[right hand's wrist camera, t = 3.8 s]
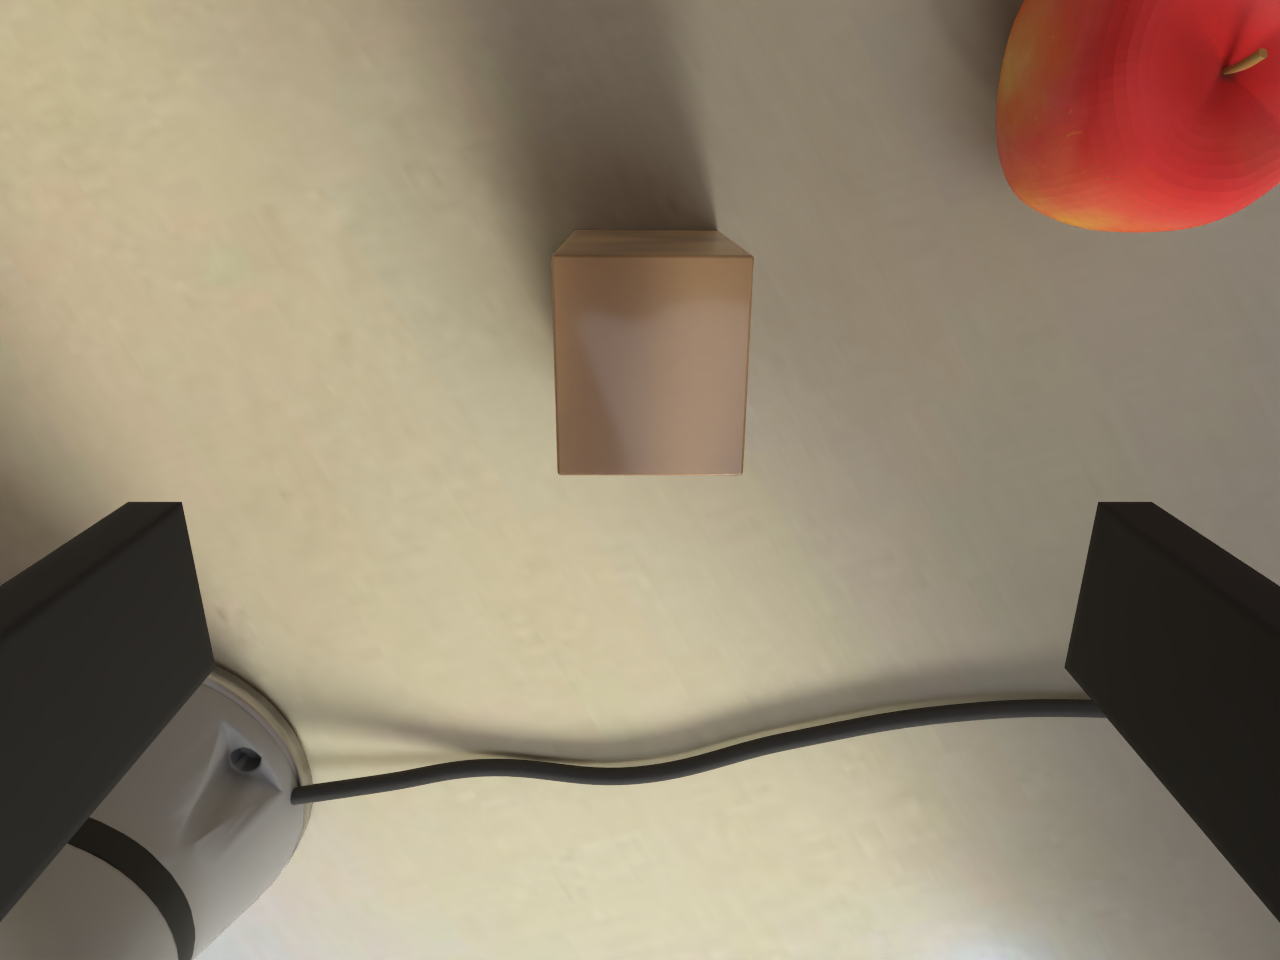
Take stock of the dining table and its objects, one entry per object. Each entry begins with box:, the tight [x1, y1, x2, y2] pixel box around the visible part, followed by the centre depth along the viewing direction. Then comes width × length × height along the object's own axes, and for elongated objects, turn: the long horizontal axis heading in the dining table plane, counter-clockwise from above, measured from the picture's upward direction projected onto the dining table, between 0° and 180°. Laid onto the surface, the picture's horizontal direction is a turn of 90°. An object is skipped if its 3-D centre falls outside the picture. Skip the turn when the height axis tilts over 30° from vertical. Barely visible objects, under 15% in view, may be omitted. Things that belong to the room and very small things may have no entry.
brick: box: [551, 230, 753, 475], centre depth 30 cm, size 6×7×10 cm
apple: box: [996, 0, 1280, 232], centre depth 27 cm, size 10×10×10 cm
